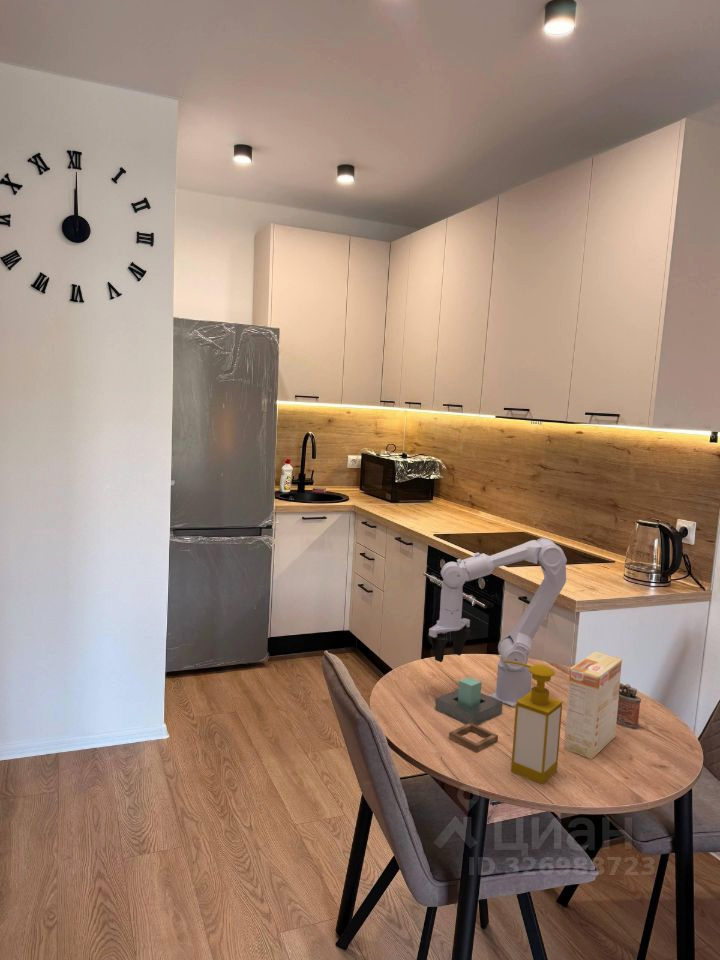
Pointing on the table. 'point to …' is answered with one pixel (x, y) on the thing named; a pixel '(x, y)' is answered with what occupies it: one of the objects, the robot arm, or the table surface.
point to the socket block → (468, 708)
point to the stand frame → (457, 737)
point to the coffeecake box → (592, 704)
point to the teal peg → (469, 692)
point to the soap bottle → (536, 729)
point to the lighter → (628, 707)
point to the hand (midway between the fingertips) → (448, 657)
